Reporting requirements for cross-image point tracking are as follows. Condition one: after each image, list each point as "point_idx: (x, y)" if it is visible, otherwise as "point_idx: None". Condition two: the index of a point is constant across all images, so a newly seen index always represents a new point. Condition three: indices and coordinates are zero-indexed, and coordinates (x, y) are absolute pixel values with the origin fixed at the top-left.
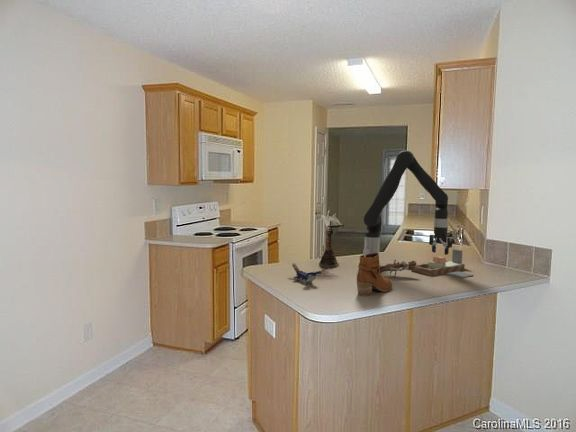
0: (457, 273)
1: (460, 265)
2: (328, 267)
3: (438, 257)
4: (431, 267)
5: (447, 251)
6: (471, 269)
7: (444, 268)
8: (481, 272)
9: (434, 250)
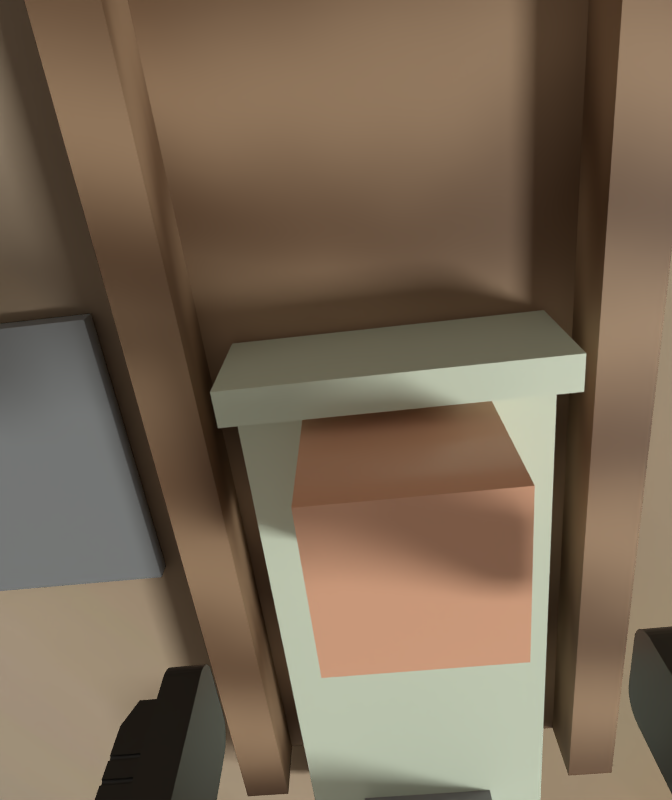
0: (29, 473)
1: (231, 727)
2: None
3: (405, 548)
4: (464, 320)
5: (110, 795)
6: (245, 792)
7: (130, 362)
8: (75, 777)
9: (661, 713)
